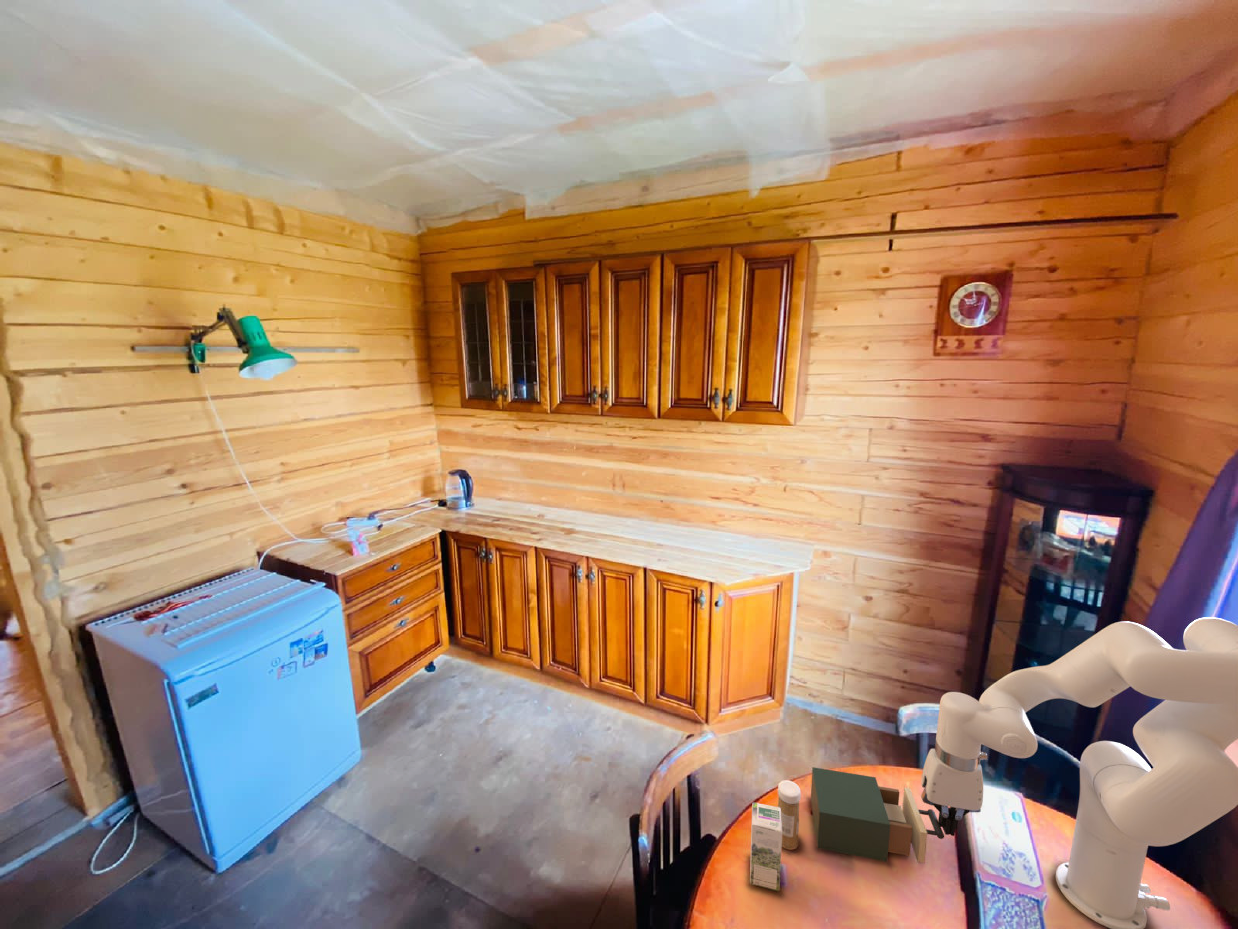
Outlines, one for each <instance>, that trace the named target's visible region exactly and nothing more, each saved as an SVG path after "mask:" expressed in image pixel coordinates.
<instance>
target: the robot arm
mask: <svg viewBox="0 0 1238 929" xmlns="http://www.w3.org/2000/svg"><path fill="white" fill-rule="evenodd" d="M1182 639H1183V645H1184V648H1185V649H1178V648H1174V647H1172V646H1171V645H1170V643H1168V642H1167V641H1165V640H1164V639H1163V638H1162V637H1161V636H1159V635H1158V634H1157V633H1156V632H1154V631H1153V630H1151V629H1150V628H1148V627H1146V626H1144V625H1142V624H1139V623H1136V622H1133V621H1122V620H1121V621H1117V622H1114V623H1111V624H1109V625H1107V626H1106V627H1104V628H1102V629H1101V630H1099V631H1098V632H1097V633H1095V634H1093V635H1092V636H1090V637H1089V638H1087V639H1086V640H1084V641H1083V642H1082V643H1080V644H1079V645H1077V646H1075V647H1074V648H1073V649H1071V650H1070V651H1068V652H1066V653H1065V654H1064V655H1062V656H1060V657H1059V658H1058V659H1056V660H1055V661H1053V662H1050V663H1049V664H1046V665H1037V666H1031V667H1027V668H1023V669H1022V668H1021V669H1017V670H1015V671H1012V672H1010V673H1008V674H1005V675H1004V676H1003V677H1002V678H1000V679H999V680H997V681H996V682H994V683H992V684H991V685H990V686H988V687H987V688H986V689H985V690H984V692H982V694H981V695H980V697H979V699H976V698H975V697H972V696H971V695H970V694H969V695H968V694H966V693H962V692H960V691H959V692H958V691H948V692H945V693H944V694H943V695H942V696H941V698H940V701H939V708H938V717H937V726H936V735H935V744H934V748H930V749H929V751H928V753H927V755H926V758H925V761H924V765H923V768H922V774H921V780H920V784H921V787H922V788H923V790H922V792H921V795H920V798H921V800H922V802H923V803H924V804H926V805H929V806H933V807H934V808H935V809H936V810H937V811H938V818H937V819H938V822H939V824H940V827H941V829H942V831H943V834H944V836H945V835H947V836H949V835H950V836H951V837H955V833H956V831H957V830H958V825H959V821H961V820H962V819H963V817H964V816H965V815H967V814H969V813H981V811H982V807H983V802H984V777H983V776H984V774H983V768H982V765H981V761H984V760H985V761H987V760H988V754H987V753H986V752H985V751H982V750H981V749H982V745H983V746H985V747H987V748H989V749H991V750H993V751H996V752H999V753H1000V754H1003V755H1006V756H1009V757H1012V758H1017V759H1027V758H1030V757H1032V756H1034V755H1035V753H1036V752H1037V751H1038V745H1039V744H1038V739H1037V736H1036V733H1035V731H1034V728H1033V727H1032V724H1031V721H1030V720H1029V718H1028V715H1027V714H1026V713H1028V712H1029V711H1030V710H1032V709H1034V708H1035V707H1037V706H1038V705H1039V704H1042V703H1044V702H1046V701H1049V700H1050V701H1051V700H1055V699H1062V700H1063V699H1064V700H1069V701H1072V702H1075V703H1078V704H1080V705H1082V706H1084V707H1087V708H1097V707H1099V706H1100V705H1102V704H1104V703H1105V702H1108V701H1109V700H1110V699H1113V698H1114V697H1116V696H1117V695H1119V694H1121V693H1122V692H1123V691H1126V690H1127V689H1129V688H1130V687H1131V688H1132V689H1133V690H1134V691H1136V692H1138V693H1140V694H1142V695H1143V696H1147V697H1150V698H1154V699H1157V700H1158V699H1159V700H1163V701H1162V702H1161V703H1159V704H1158V705H1156V706H1155V707H1154V708H1152V709H1151V710H1150V711H1148V712H1147V713H1146V714H1144V715H1143V716H1142V717H1141V718H1139V720H1138V721H1137V722H1136V723H1135V724H1134V726H1133V728H1132V735H1133V738H1134V740H1135V742H1136V744H1137V746H1138V748H1139V749H1140V751H1141V752H1142V754H1143V755H1144V756H1145V758H1146V759H1147V761H1148V762H1149V763H1150V764H1151V766H1152V768H1151V766H1150V764H1148V762H1147V761H1146V760H1145V759H1144V758H1143V757H1142V756H1141V755H1140V754H1139V753H1137V752H1136V751H1135V750H1133V749H1132V748H1130V747H1129V746H1126V745H1125V744H1123V743H1121V742H1115V741H1112V740H1099V741H1096V742H1093V743H1090V744H1089V745H1088V746H1087V747H1086V748H1085V749H1084V750H1083V752H1082V754H1081V756H1080V761H1079V799H1078V804H1077V811H1076V817H1075V823H1074V829H1073V834H1072V835H1073V837H1072V842H1071V849H1070V853H1069V854H1070V855H1069V860H1068V861H1066V862H1063V863H1060V864H1059V865H1058V866H1057V868H1056V871H1055V881H1056V884H1057V886H1058V888H1059V890H1060V892H1061V893H1062V894H1063V896H1064V897H1065V898H1066V899H1067V900H1068V901H1069V903H1070V904H1071V905H1072V906H1074V907H1075V908H1076V909H1077V910H1078V911H1079V912H1081V913H1082V914H1083V915H1085V916H1086V917H1088V918H1089V919H1091V920H1092V921H1094V922H1096V923H1097V924H1099V925H1101V926H1104V927H1106V928H1108V929H1145V928H1146V926H1147V922H1148V921H1147V920H1148V916H1147V912H1146V910H1145V909H1150V907H1152V908H1155V909H1158V910H1162V911H1168V912H1169V911H1171V905H1170V902H1169V901H1168V899H1167V898H1166V897H1164V896H1159V895H1155V894H1151V888H1150V886H1149V885H1148V884H1146V883H1142V878H1143V874H1144V869H1145V864H1146V859H1147V854H1148V848H1149V846H1150V847H1168V846H1170V845H1175V844H1178V843H1180V842H1182V841H1184V840H1186V839H1187V838H1189V837H1190V836H1192V835H1194V834H1196V833H1197V832H1199V831H1201V830H1202V829H1204V828H1205V827H1207V826H1209V825H1211V824H1212V823H1213V822H1215V821H1217V820H1218V819H1220V818H1221V817H1223V816H1225V815H1226V814H1228V813H1229V812H1231V811H1232V810H1233V809H1235V808H1236V807H1237V806H1238V766H1237V764H1236V763H1235V762H1234V761H1233V759H1232V758H1230V756H1229V755H1228V754H1227V753H1226V752H1225V751H1226V750H1227V748H1228V747H1229V746H1230V745H1231V744H1233V743H1234V742H1236V741H1237V740H1238V625H1237V624H1236V623H1235V622H1232V621H1230V620H1226V619H1223V618H1219V617H1212V616H1208V617H1207V616H1206V617H1201V618H1198V619H1195V620H1194V621H1191V623H1189V624H1188V626H1187V627H1186V628H1185V629H1184V632H1183V638H1182ZM1150 894H1151V895H1150Z"/></svg>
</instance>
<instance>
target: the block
mask: <svg viewBox="0 0 1238 929" xmlns="http://www.w3.org/2000/svg"><path fill="white" fill-rule="evenodd" d="M884 806H885V809H886V812H887V816H888V819H889V821H891V822H897V823H902V824H906V820H905V818H904V815H903V812H902V806H901V805H899V804H898V805H893V804H887V803H884Z"/></svg>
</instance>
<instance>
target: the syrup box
mask: <svg viewBox="0 0 1238 929" xmlns="http://www.w3.org/2000/svg"><path fill="white" fill-rule="evenodd" d="M751 804H752V805H751V828H750V830H751V831H750V857H749V858H750V860H749V861H750V865H749V867H750V868H749V882H750V883H749V884H750V885H752V886H756V887H760V888H765V889H768V890H772V891H776V892H779V891H780V886H781V885H780V884H781V865H782V863H781V862H782V849H783V847H782V821H781V808H779V807H778V806H774V805H769V804H763V803H758V802H755V801H752V803H751Z"/></svg>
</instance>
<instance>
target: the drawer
mask: <svg viewBox="0 0 1238 929" xmlns="http://www.w3.org/2000/svg"><path fill="white" fill-rule="evenodd" d="M878 787H879V790H880V793H881V796H882V800H883V803H887V804H893V805H899V802H900V789H897V788H892V787H885V786H880V785H878ZM901 809H902V812H903V815H904V818H905V820H906V824H902V823H897V822H891V821H889V822H890V835H889V847H888V853H892V854H897V855H902V856H908V857H910V856H911V846H912V850H913V852H914V855H915V857H916V860H917V862H918V863H922V864H925V858H926V849H927V840H928V835H929V836H930V835H931V836H936V837H937V838H938V839H940V840H943V839H945V833H944V830H943V828H942V827H940V824H939V821H938V819H939V818H937V815H936V812H935V810H933V809H932V808H929V809H927V810H926V809H925V810H923V809H919V808H918V806H917V802H916V800H915V797H914V796H913V793H912V790H911V788H909V787H905V786H904V787H903V798H902V806H901ZM921 815H924V816H928V818H929V820H930V823H931V825H932V828H933V830H931V829H927V828H926V825H925V823H924V821H923V818H922V816H921Z"/></svg>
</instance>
